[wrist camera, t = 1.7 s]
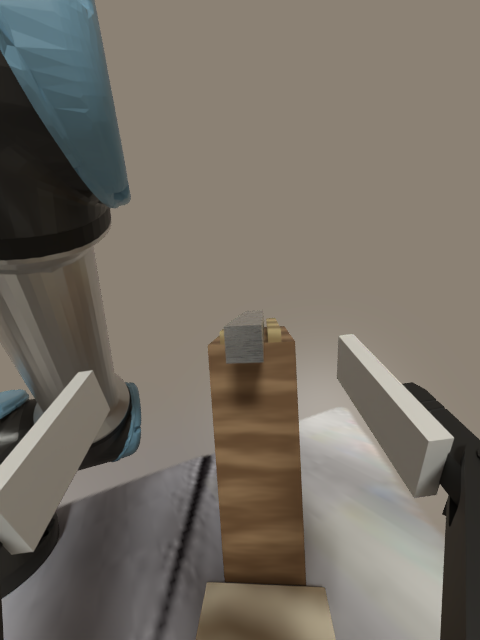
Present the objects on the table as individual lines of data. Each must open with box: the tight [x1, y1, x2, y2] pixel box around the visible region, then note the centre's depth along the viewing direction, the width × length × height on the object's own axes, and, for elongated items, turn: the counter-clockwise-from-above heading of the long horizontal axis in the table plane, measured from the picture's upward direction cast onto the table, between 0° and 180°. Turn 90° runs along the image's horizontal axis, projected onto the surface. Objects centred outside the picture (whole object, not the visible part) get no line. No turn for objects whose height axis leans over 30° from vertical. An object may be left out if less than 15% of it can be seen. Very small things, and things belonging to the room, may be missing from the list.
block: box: [224, 311, 264, 364], centre depth 33 cm, size 24×3×3 cm, turn 175°
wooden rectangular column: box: [208, 318, 306, 586], centre depth 39 cm, size 16×10×32 cm, turn 175°
